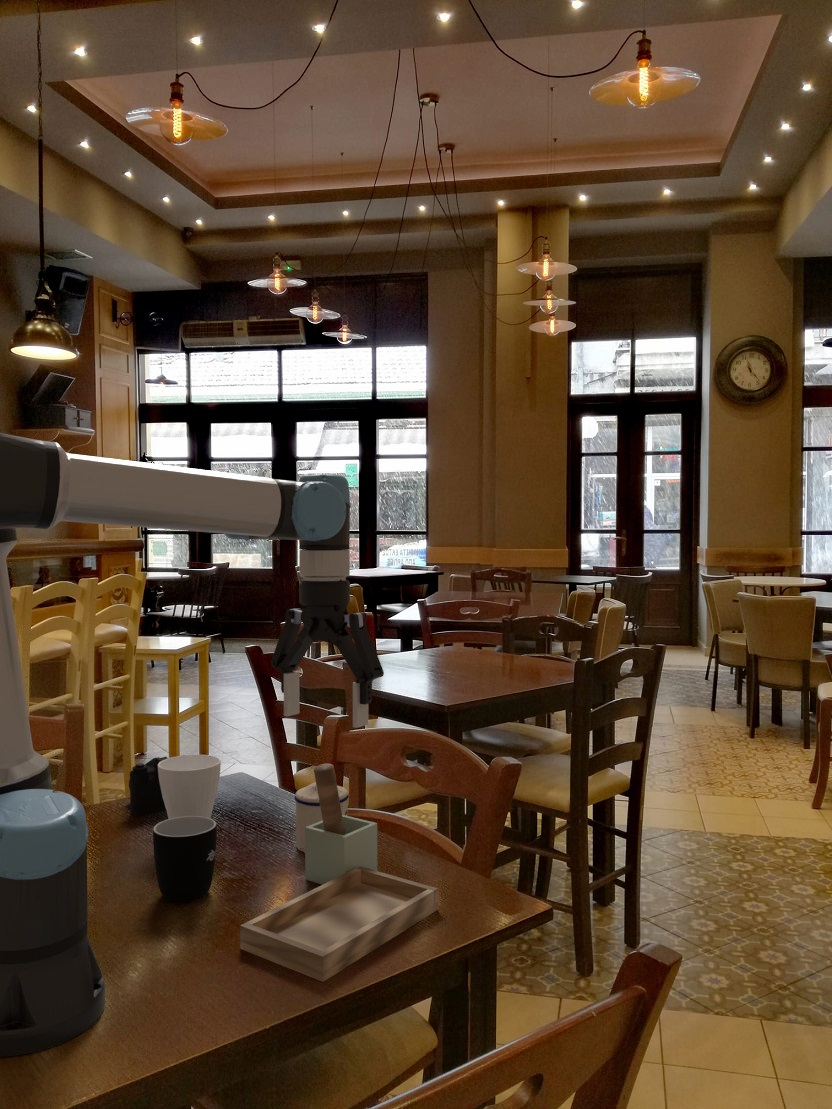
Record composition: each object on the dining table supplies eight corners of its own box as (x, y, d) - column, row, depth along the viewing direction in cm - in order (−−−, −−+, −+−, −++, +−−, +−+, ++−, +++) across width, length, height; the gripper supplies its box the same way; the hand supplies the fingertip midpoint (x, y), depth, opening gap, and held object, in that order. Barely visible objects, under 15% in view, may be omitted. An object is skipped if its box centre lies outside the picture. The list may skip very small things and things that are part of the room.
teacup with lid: (355, 852, 144) (354, 782, 144) (300, 859, 141) (300, 787, 141) (337, 828, 155) (337, 763, 155) (286, 834, 152) (286, 768, 152)
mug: (215, 905, 124) (214, 834, 123) (149, 909, 122) (149, 838, 122) (219, 872, 136) (219, 807, 135) (160, 876, 134) (159, 811, 134)
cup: (189, 856, 142) (188, 774, 142) (144, 844, 148) (144, 765, 147) (234, 836, 151) (233, 759, 151) (190, 826, 157) (190, 751, 156)
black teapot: (181, 791, 178) (181, 742, 178) (205, 803, 170) (205, 752, 170) (114, 805, 169) (114, 754, 169) (136, 819, 161) (136, 765, 161)
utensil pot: (344, 891, 128) (344, 837, 128) (305, 879, 133) (305, 827, 133) (377, 874, 135) (377, 823, 134) (338, 863, 139) (338, 813, 139)
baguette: (327, 885, 129) (324, 770, 128) (312, 880, 130) (309, 767, 130) (355, 870, 134) (352, 759, 133) (340, 866, 136) (338, 756, 135)
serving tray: (323, 981, 103) (322, 956, 102) (240, 948, 111) (240, 925, 111) (437, 909, 122) (437, 888, 122) (360, 886, 130) (360, 866, 130)
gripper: (407, 580, 126) (407, 726, 127) (281, 575, 141) (281, 706, 141) (375, 582, 120) (375, 736, 121) (247, 577, 134) (248, 714, 135)
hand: (325, 720), depth 131 cm, fingers open, 13 cm apart
